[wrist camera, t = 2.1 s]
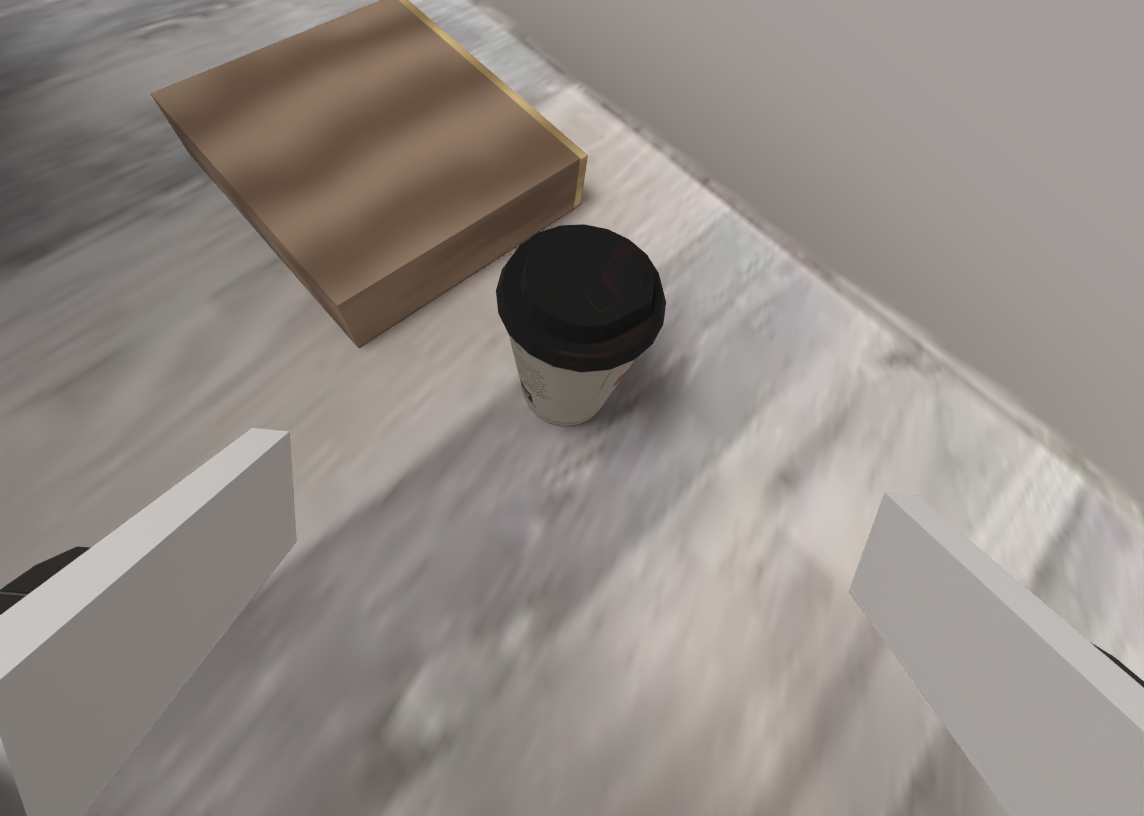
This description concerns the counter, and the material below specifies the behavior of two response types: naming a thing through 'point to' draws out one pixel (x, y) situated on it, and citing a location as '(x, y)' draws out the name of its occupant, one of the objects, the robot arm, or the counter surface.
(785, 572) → the counter surface
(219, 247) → the counter surface
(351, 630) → the counter surface
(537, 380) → the coffee cup
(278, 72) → the brown flat square block
